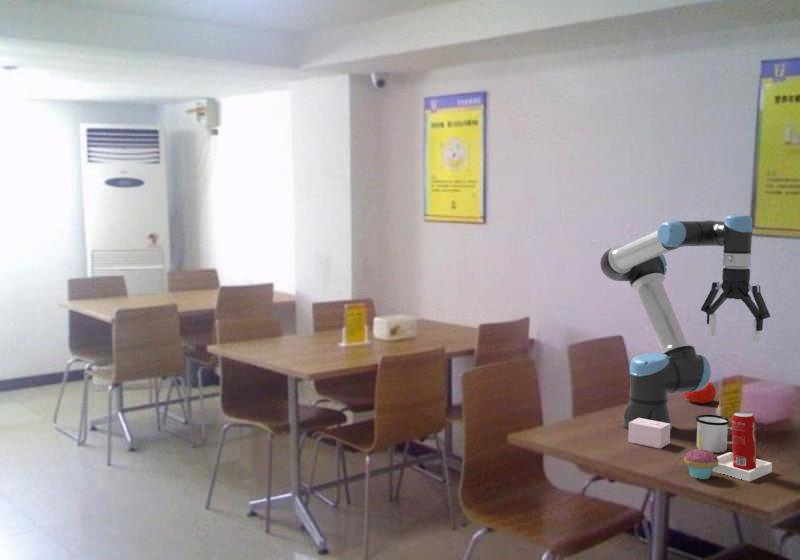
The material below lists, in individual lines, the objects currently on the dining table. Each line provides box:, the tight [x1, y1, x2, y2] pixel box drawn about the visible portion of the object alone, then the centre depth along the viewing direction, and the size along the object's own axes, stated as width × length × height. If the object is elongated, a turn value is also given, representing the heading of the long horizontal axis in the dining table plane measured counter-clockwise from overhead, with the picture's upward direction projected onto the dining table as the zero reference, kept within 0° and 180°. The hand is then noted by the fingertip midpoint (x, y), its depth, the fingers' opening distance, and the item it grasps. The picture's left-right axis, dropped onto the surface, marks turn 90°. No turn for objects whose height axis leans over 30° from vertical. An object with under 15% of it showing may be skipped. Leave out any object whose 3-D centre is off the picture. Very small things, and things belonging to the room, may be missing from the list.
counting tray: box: [712, 451, 773, 482], centre depth 215 cm, size 12×12×2 cm
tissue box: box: [627, 418, 671, 449], centre depth 240 cm, size 10×7×6 cm
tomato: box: [683, 381, 717, 405], centre depth 289 cm, size 11×11×8 cm
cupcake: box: [683, 432, 718, 480], centre depth 211 cm, size 9×8×12 cm
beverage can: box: [731, 411, 757, 471], centre depth 214 cm, size 6×6×15 cm
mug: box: [695, 414, 732, 454], centre depth 234 cm, size 12×10×9 cm
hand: (733, 338), depth 238 cm, fingers open, 13 cm apart
